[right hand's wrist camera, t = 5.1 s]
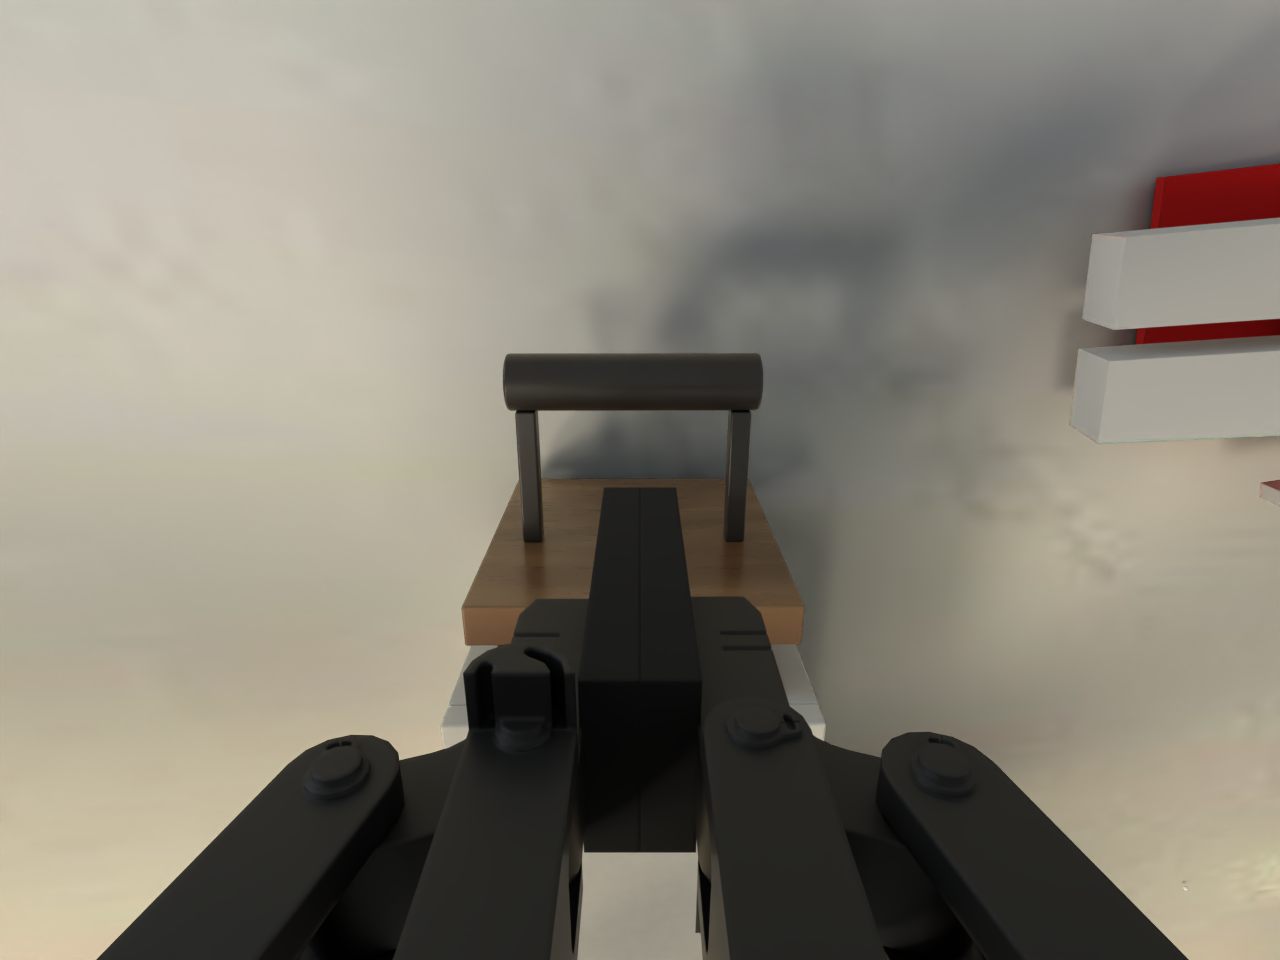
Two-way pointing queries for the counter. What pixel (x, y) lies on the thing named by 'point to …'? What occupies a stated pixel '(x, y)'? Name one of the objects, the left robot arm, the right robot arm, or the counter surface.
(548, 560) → the drawer
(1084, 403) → the toy
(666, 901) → the cabinet
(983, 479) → the counter surface
